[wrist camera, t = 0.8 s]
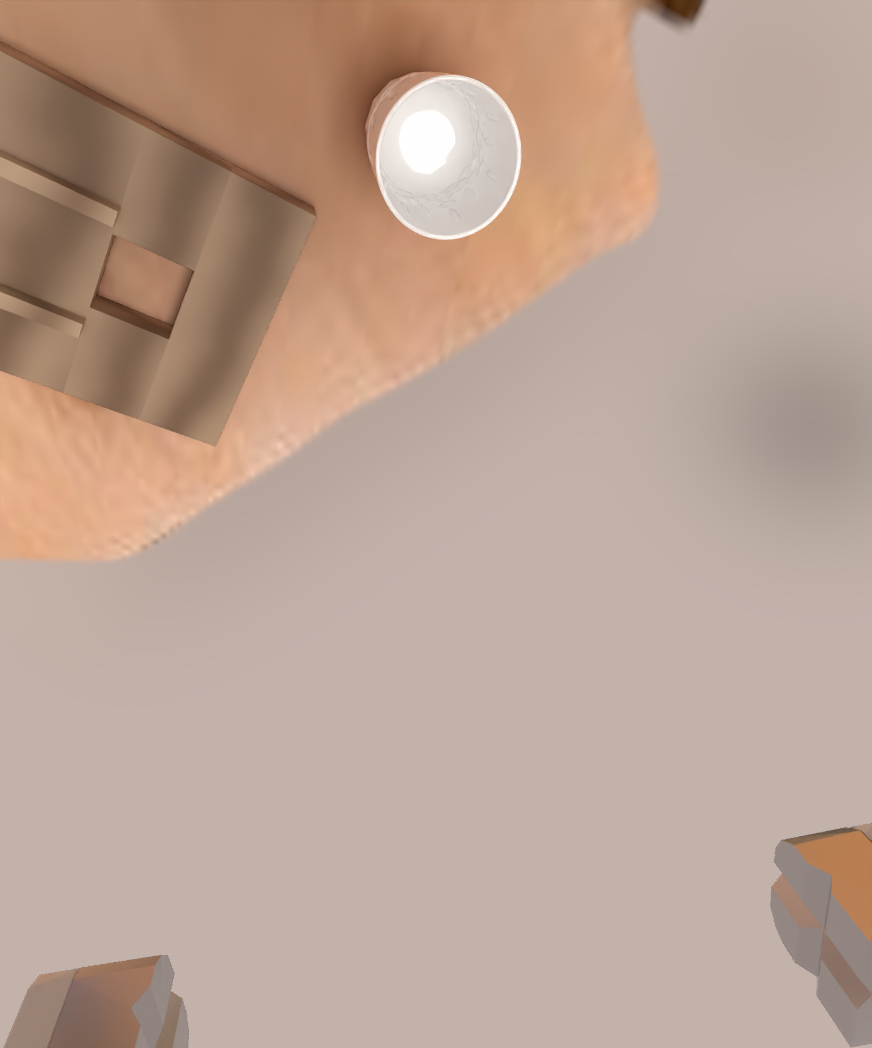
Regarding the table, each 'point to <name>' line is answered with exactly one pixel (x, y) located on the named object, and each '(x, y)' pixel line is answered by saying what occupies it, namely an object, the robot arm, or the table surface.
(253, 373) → the table surface
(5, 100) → the board
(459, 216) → the white cup
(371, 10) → the table surface
